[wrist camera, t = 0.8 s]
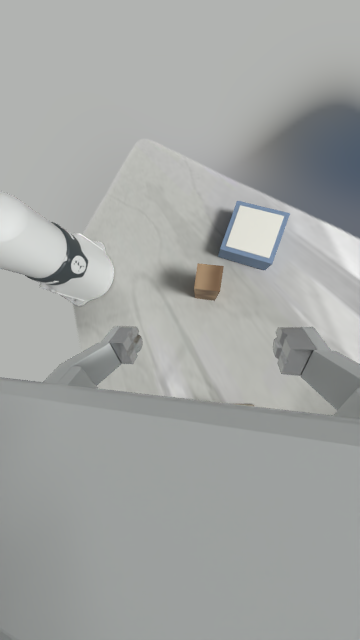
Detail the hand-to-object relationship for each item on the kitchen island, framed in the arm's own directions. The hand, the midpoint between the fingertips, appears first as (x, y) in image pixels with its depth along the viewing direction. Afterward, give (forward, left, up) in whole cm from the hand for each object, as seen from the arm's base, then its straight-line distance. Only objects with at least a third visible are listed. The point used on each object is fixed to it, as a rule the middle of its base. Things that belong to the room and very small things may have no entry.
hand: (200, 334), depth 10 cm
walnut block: (-2, +10, -31) cm, 33 cm away
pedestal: (+4, +25, -31) cm, 40 cm away
